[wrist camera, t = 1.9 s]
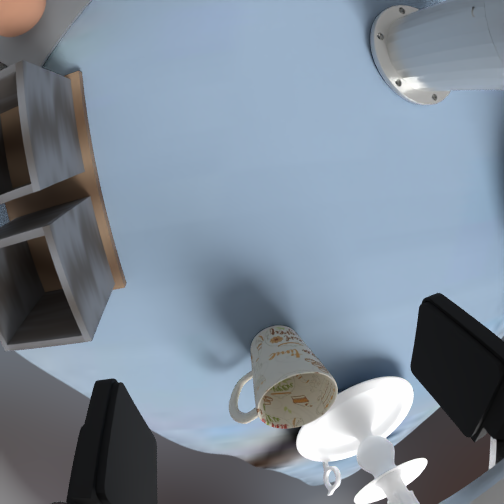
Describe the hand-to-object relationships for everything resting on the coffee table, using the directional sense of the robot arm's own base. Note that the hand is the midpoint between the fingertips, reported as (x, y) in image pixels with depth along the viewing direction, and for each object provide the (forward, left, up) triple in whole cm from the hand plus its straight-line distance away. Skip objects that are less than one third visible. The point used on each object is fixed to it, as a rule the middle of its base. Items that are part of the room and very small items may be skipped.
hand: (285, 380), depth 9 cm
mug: (+12, +15, -24) cm, 31 cm away
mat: (-6, -29, -24) cm, 38 cm away
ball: (-6, -29, -21) cm, 36 cm away
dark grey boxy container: (+8, -15, -24) cm, 29 cm away
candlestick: (+17, +37, -24) cm, 48 cm away
